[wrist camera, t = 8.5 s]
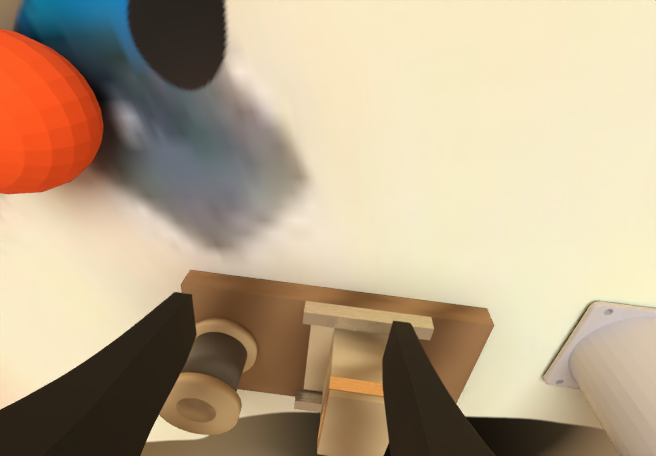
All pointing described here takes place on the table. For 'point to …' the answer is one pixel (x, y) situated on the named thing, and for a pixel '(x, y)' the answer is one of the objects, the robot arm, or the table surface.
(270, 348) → the brown rectangular board
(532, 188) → the table surface
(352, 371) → the block
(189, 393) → the spool
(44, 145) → the clementine
